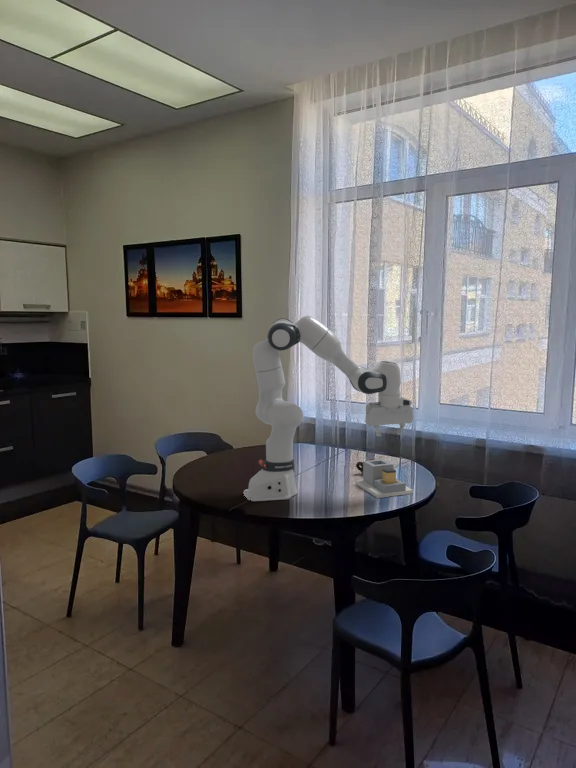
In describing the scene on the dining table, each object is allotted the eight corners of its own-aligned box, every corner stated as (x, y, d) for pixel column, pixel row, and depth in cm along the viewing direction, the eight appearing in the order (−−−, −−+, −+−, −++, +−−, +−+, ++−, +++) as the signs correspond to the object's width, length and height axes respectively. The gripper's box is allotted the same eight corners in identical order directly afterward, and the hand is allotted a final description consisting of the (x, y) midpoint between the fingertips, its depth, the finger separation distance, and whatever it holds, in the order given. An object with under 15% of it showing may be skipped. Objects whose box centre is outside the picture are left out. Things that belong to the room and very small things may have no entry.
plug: (387, 490, 214) (387, 471, 214) (382, 487, 218) (382, 468, 217) (395, 489, 216) (395, 470, 215) (391, 486, 219) (391, 467, 219)
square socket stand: (377, 498, 210) (377, 473, 209) (356, 484, 229) (356, 461, 228) (413, 493, 215) (413, 469, 214) (389, 480, 234) (389, 458, 233)
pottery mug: (379, 472, 249) (384, 459, 244) (378, 486, 241) (383, 473, 236) (354, 466, 249) (358, 453, 245) (352, 479, 242) (357, 466, 237)
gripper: (369, 403, 207) (369, 438, 208) (415, 401, 213) (415, 434, 214) (362, 401, 213) (362, 435, 214) (407, 399, 219) (407, 432, 220)
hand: (389, 435), depth 214 cm, fingers open, 8 cm apart
